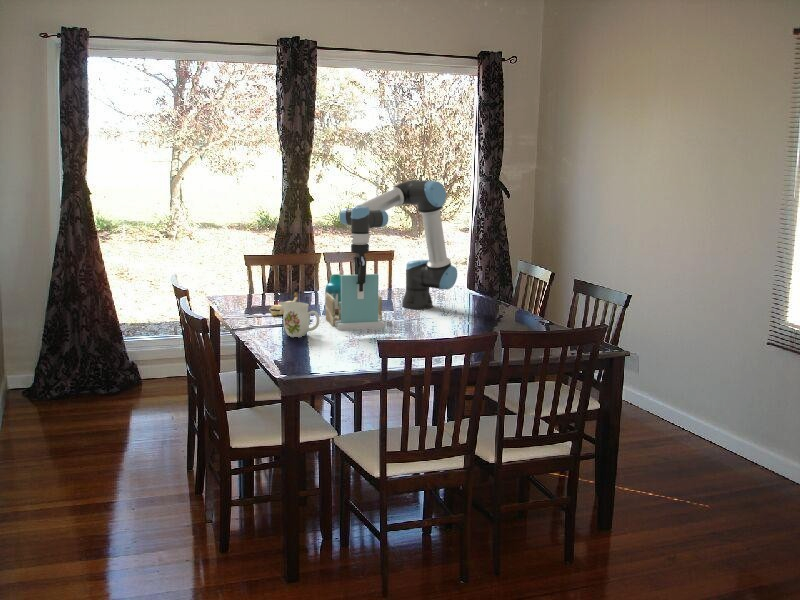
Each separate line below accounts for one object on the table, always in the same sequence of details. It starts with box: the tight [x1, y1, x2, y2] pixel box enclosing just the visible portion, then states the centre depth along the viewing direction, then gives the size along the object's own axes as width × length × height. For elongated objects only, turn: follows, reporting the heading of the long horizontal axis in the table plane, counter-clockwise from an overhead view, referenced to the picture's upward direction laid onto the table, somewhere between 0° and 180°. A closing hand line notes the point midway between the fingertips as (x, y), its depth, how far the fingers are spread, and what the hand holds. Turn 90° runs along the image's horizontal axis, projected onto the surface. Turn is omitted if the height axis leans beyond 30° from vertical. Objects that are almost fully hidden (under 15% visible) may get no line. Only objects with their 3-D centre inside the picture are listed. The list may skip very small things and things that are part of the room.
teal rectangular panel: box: [340, 273, 379, 323], centre depth 342 cm, size 16×2×22 cm, turn 107°
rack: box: [325, 293, 383, 327], centre depth 354 cm, size 22×15×14 cm
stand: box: [334, 319, 385, 331], centre depth 344 cm, size 20×8×4 cm, turn 107°
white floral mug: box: [277, 301, 321, 338], centre depth 331 cm, size 11×18×14 cm, turn 77°
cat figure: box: [268, 292, 302, 316], centre depth 381 cm, size 10×9×25 cm
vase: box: [324, 273, 342, 315], centre depth 372 cm, size 11×11×19 cm
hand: (359, 298), depth 341 cm, fingers closed on teal rectangular panel, 2 cm apart
